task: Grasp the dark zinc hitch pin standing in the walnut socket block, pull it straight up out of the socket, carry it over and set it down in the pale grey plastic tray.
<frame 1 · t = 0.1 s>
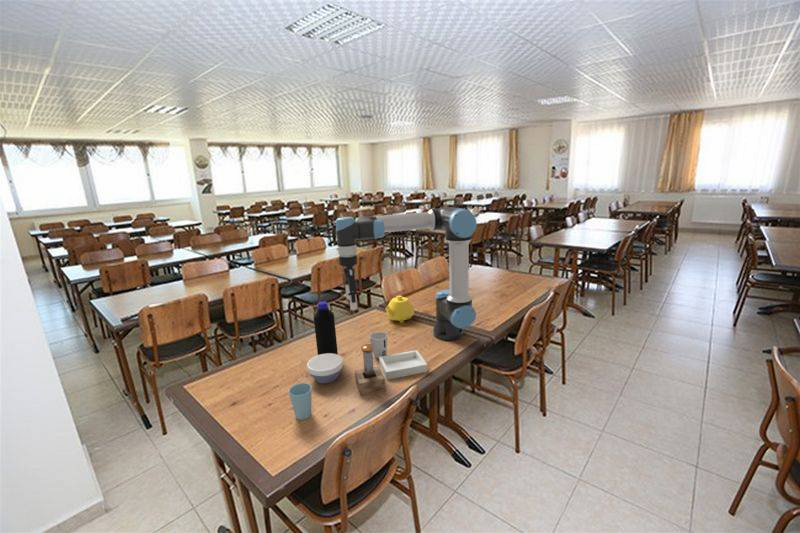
hand: (351, 304, 158), 28 cm above the table, fingers open, 13 cm apart
pin: (368, 366, 145), in the socket block
socket block: (370, 385, 147), on the table
tray: (402, 367, 160), on the table
bottle: (328, 361, 168), on the table
cup: (379, 356, 171), on the table
cup 2: (303, 415, 132), on the table
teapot: (398, 320, 211), on the table
bowl: (326, 378, 155), on the table
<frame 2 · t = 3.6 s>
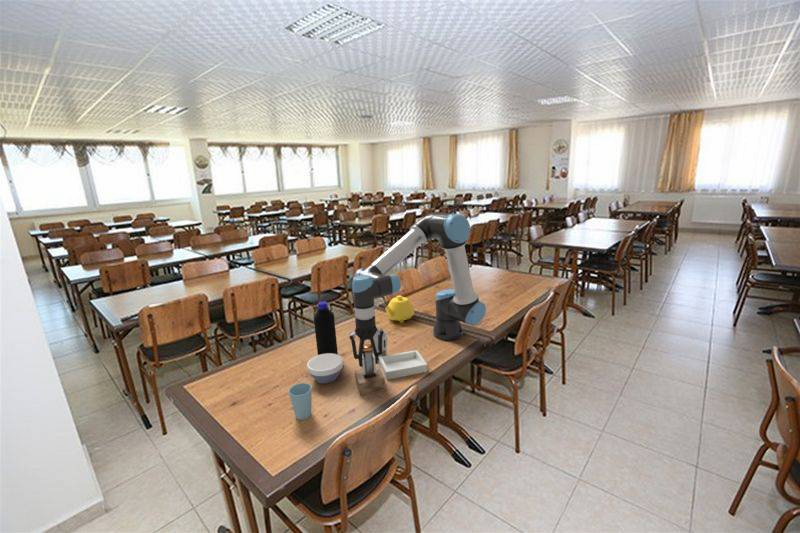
hand: (369, 372, 146), 6 cm above the table, fingers closed on pin, 3 cm apart
pin: (368, 366, 145), in the socket block, touching gripper
everything else where it was.
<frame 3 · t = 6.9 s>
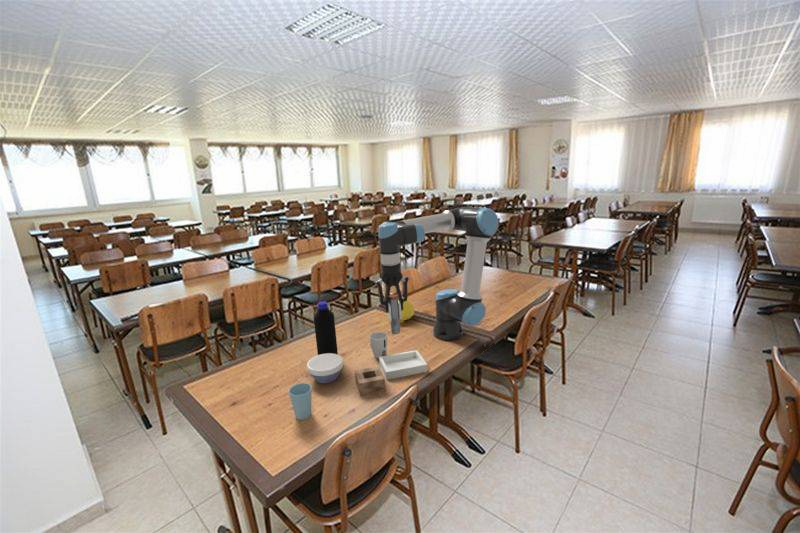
hand: (394, 318, 152), 24 cm above the table, fingers closed on pin, 3 cm apart
pin: (394, 313, 151), point 26 cm above the table, touching gripper
everything else where it was.
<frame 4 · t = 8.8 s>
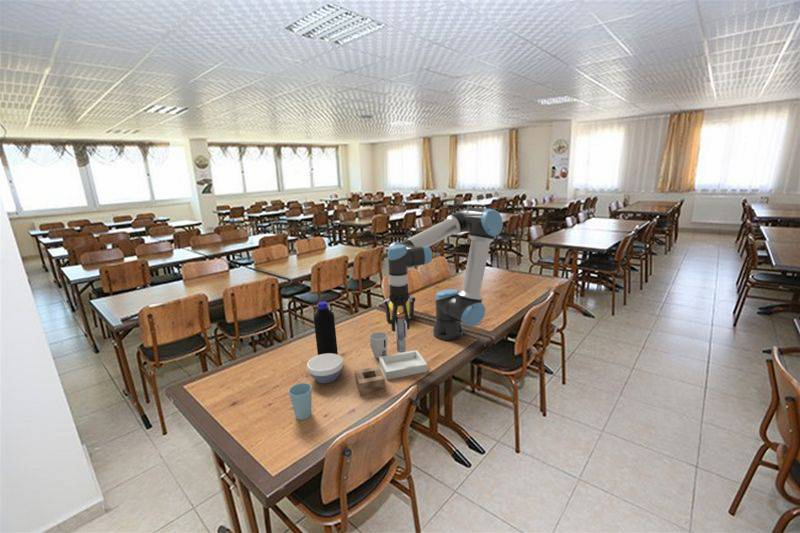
hand: (400, 337, 156), 14 cm above the table, fingers closed on pin, 3 cm apart
pin: (400, 331, 156), point 17 cm above the table, touching gripper
everything else where it was.
when the fingers open (8 cm above the table, at t = 10.5 s): pin stays where it is, resting on tray.
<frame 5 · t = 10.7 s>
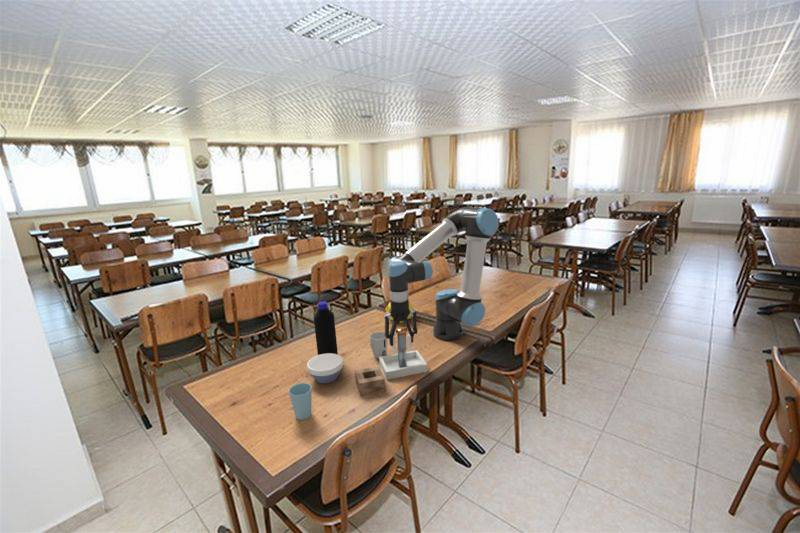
hand: (401, 350, 158), 8 cm above the table, fingers open, 6 cm apart
pin: (402, 347, 157), in the tray, point 9 cm above the table
everything else where it was.
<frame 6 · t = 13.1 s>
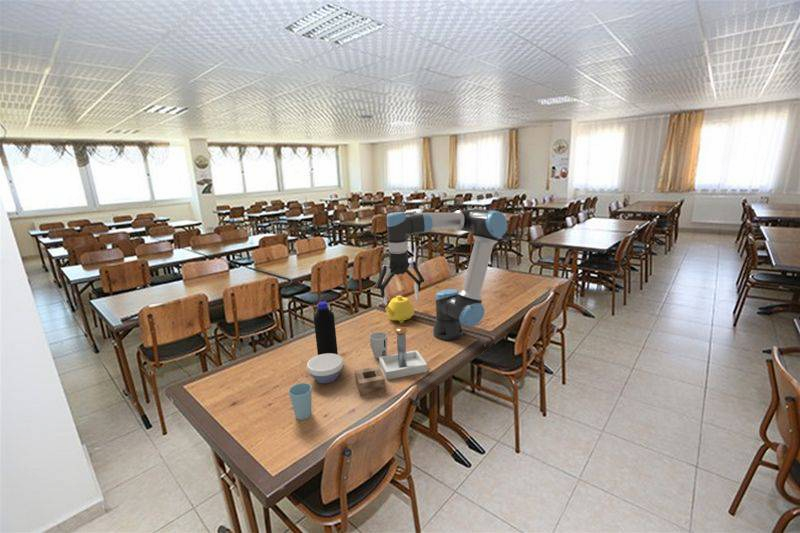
hand: (401, 301, 155), 29 cm above the table, fingers open, 13 cm apart
nothing on the table moved.
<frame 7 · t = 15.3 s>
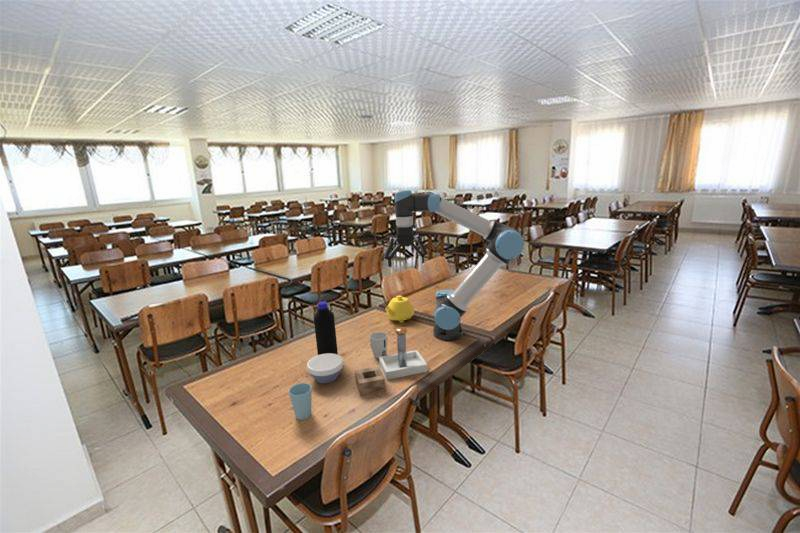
hand: (406, 272, 171), 37 cm above the table, fingers open, 13 cm apart
nothing on the table moved.
at the end: pin inside the target area on the tray (0.0 cm from its centre), point 9.3 cm above the tray's base; the gripper is holding nothing; pin moved 18.4 cm from its start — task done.
